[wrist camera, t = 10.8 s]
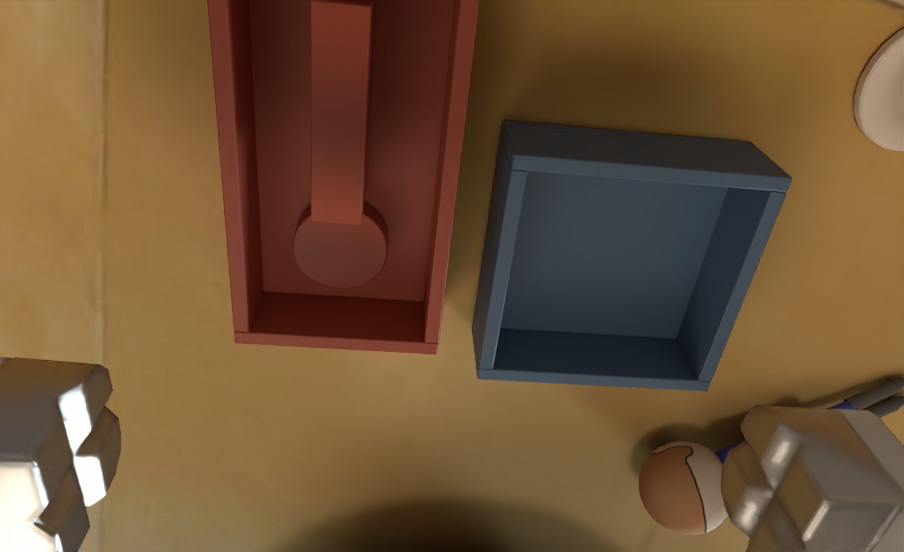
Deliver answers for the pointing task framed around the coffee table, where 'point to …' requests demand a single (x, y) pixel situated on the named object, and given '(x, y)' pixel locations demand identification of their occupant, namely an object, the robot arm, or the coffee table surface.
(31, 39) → the coffee table surface
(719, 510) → the toy
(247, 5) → the red bin
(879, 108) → the candle
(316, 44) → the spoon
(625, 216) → the blue bin
